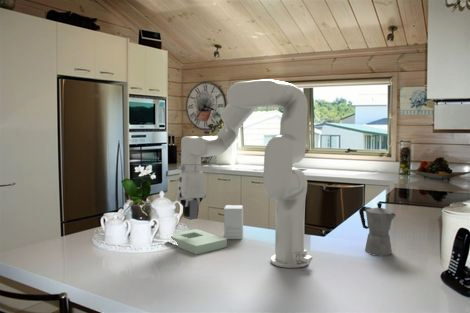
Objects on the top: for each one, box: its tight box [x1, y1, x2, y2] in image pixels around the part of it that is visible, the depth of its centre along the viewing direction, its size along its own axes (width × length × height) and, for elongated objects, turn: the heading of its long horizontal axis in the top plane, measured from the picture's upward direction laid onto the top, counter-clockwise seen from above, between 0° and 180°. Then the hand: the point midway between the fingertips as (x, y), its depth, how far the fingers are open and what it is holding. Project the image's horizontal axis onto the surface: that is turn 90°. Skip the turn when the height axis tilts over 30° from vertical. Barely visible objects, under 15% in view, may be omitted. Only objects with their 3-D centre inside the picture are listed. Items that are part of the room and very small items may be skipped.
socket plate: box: [171, 228, 228, 255], centre depth 158 cm, size 20×14×3 cm
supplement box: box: [223, 204, 244, 240], centre depth 169 cm, size 7×7×13 cm
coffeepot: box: [358, 202, 397, 256], centre depth 149 cm, size 15×9×18 cm, turn 34°
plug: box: [183, 199, 199, 221], centre depth 160 cm, size 4×4×7 cm
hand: (190, 215), depth 160 cm, fingers closed on plug, 3 cm apart
